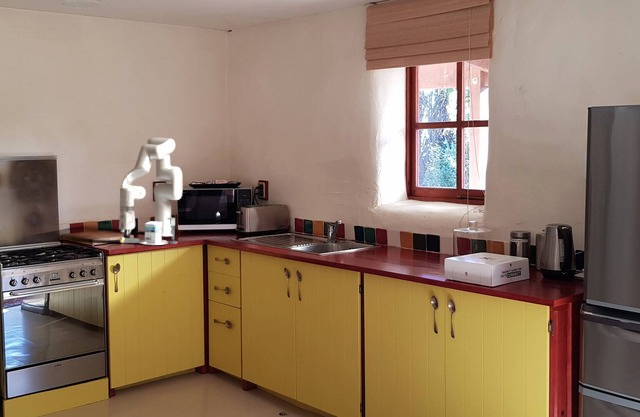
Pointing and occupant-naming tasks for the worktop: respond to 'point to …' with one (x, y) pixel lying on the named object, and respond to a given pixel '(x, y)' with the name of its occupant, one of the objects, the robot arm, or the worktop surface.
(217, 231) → the worktop surface
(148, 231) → the light bulb box
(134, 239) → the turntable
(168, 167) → the robot arm
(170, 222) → the gauge stand
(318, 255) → the worktop surface
